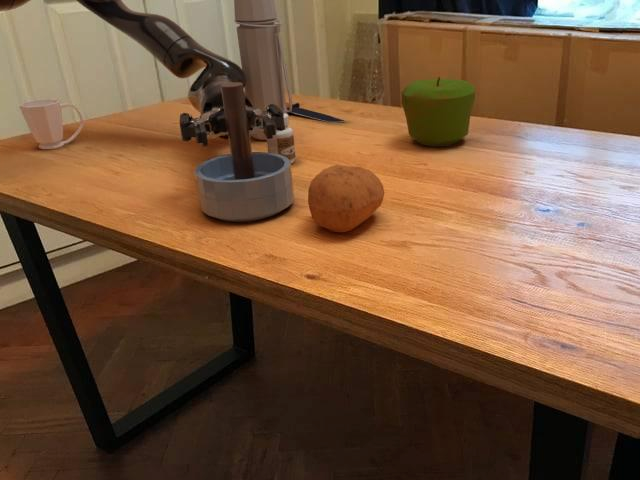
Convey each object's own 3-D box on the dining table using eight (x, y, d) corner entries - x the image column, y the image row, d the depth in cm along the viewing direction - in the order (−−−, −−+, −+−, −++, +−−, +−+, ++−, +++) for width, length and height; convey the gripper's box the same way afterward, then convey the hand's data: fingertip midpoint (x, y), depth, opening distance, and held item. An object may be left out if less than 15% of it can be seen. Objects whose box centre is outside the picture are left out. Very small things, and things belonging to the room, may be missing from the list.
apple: (475, 132, 122) (477, 69, 116) (471, 152, 111) (473, 83, 106) (408, 131, 124) (407, 69, 118) (398, 150, 113) (396, 83, 108)
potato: (291, 228, 86) (285, 173, 82) (348, 201, 93) (344, 150, 90) (345, 245, 80) (341, 186, 77) (400, 215, 88) (399, 161, 84)
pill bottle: (285, 167, 108) (280, 120, 104) (264, 164, 109) (258, 117, 106) (301, 159, 111) (296, 113, 107) (280, 156, 113) (275, 111, 109)
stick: (239, 206, 91) (222, 87, 83) (236, 199, 93) (219, 83, 85) (260, 203, 92) (244, 85, 84) (256, 196, 94) (240, 81, 86)
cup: (27, 145, 124) (14, 102, 121) (82, 135, 130) (71, 93, 126) (35, 153, 119) (22, 109, 116) (92, 143, 124) (81, 99, 121)
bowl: (208, 231, 85) (200, 187, 83) (197, 199, 96) (189, 159, 93) (304, 215, 89) (300, 172, 86) (283, 186, 100) (278, 147, 97)
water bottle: (241, 140, 123) (221, -7, 111) (265, 129, 129) (248, -11, 117) (283, 144, 119) (266, -7, 107) (306, 133, 125) (292, -11, 113)
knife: (336, 133, 130) (353, 124, 133) (334, 121, 129) (351, 111, 132) (249, 110, 144) (266, 101, 147) (246, 98, 142) (263, 90, 145)
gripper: (173, 87, 98) (177, 112, 84) (269, 79, 101) (287, 101, 87) (182, 137, 101) (187, 169, 87) (274, 127, 105) (293, 156, 91)
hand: (237, 135), depth 87 cm, fingers open, 8 cm apart
